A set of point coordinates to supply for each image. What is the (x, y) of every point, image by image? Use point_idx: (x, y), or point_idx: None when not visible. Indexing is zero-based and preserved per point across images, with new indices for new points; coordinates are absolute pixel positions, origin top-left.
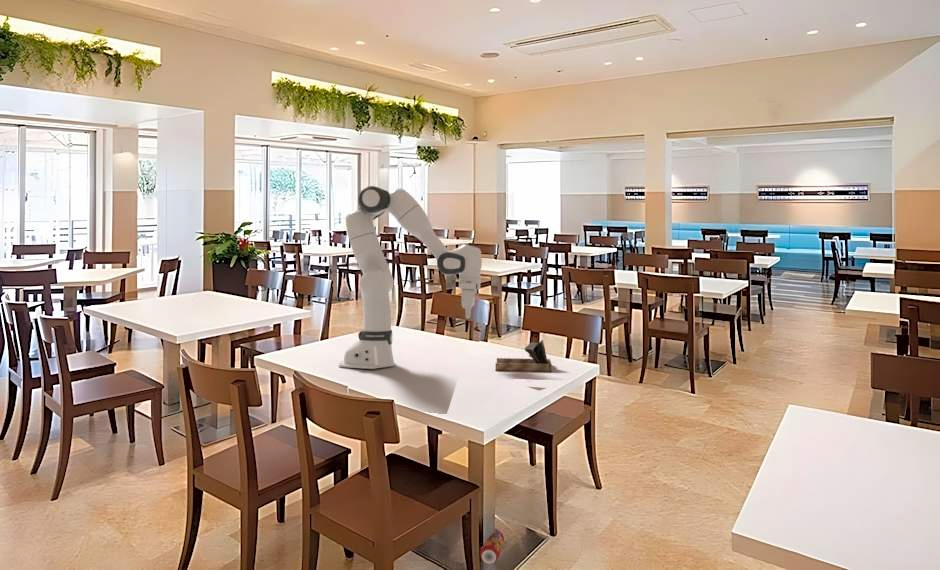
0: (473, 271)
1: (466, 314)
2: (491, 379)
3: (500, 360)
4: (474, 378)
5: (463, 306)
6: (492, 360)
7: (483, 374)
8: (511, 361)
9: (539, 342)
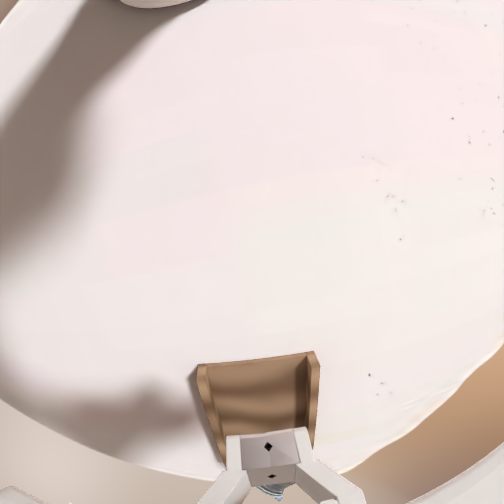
0: None
1: (228, 470)
2: (74, 357)
3: (310, 372)
4: (64, 318)
5: (1, 494)
6: (406, 315)
7: (126, 337)
8: (308, 396)
9: (272, 493)
